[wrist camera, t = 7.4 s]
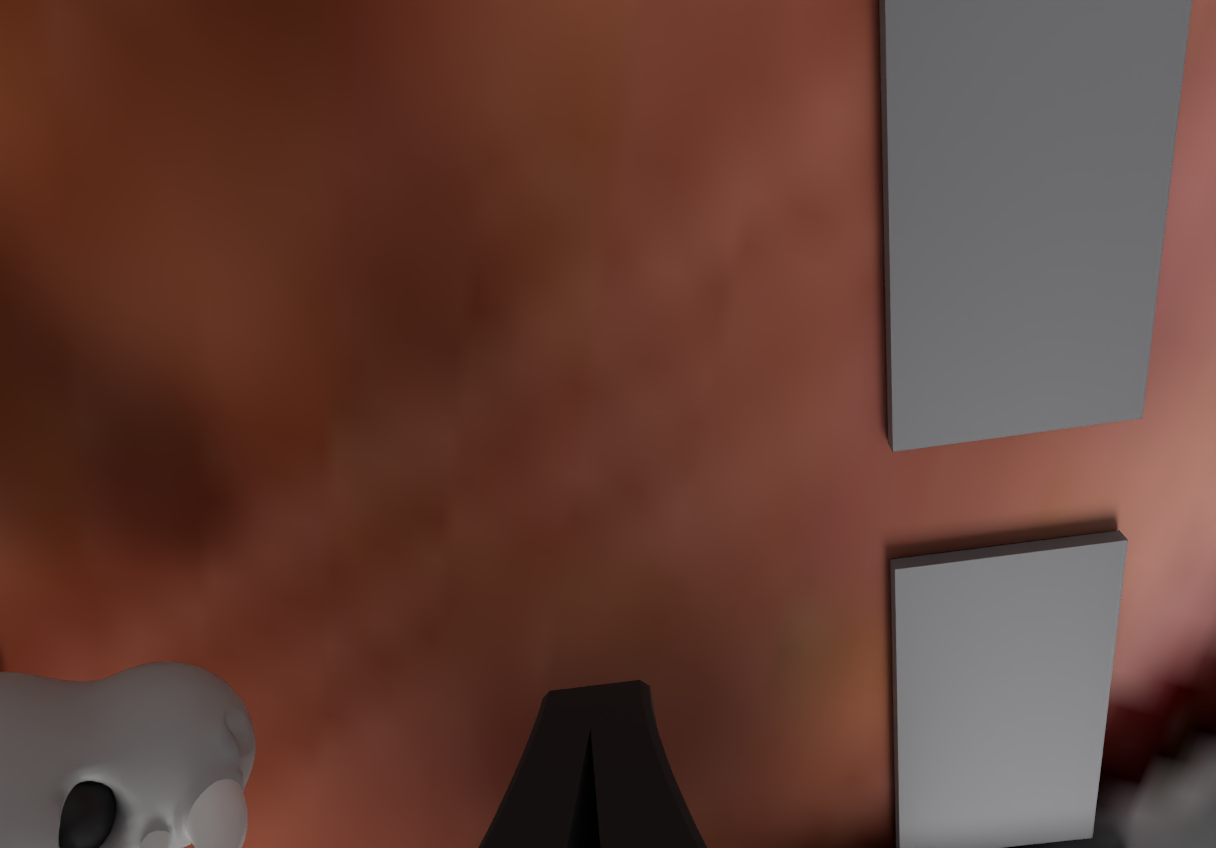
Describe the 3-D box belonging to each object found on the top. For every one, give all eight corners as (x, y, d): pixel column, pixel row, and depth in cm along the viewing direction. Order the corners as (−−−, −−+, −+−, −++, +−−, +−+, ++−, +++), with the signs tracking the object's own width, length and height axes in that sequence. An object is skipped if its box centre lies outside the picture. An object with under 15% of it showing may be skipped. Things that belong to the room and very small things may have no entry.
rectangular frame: (1124, 882, 21) (1186, 995, 19) (-119, 1012, 23) (-196, 1127, 21) (1302, -324, 11) (1476, -386, 9) (-905, 77, 13) (-1213, 107, 11)
